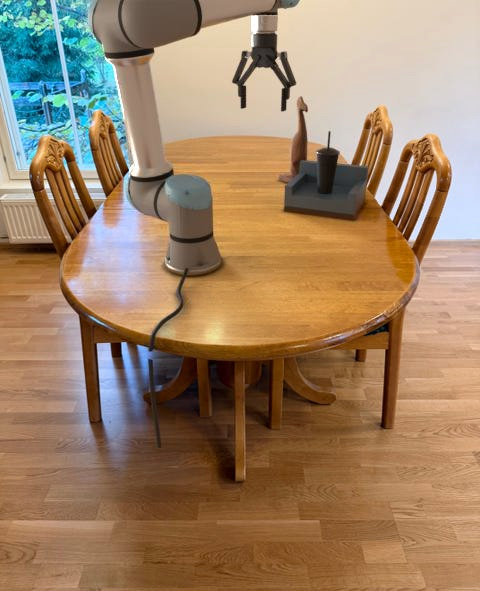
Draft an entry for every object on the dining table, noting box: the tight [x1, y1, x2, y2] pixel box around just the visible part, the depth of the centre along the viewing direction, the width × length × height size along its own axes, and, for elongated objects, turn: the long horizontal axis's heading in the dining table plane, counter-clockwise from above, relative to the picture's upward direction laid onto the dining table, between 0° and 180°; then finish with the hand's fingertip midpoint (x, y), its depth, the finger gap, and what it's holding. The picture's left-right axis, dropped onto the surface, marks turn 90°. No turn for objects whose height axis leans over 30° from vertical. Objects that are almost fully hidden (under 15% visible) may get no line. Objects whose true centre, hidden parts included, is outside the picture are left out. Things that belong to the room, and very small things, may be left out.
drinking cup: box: [315, 130, 341, 194], centre depth 162 cm, size 8×8×20 cm
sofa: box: [283, 159, 370, 221], centre depth 168 cm, size 19×24×13 cm
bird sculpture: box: [278, 95, 309, 184], centre depth 190 cm, size 11×12×32 cm
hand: (263, 109), depth 153 cm, fingers open, 13 cm apart
